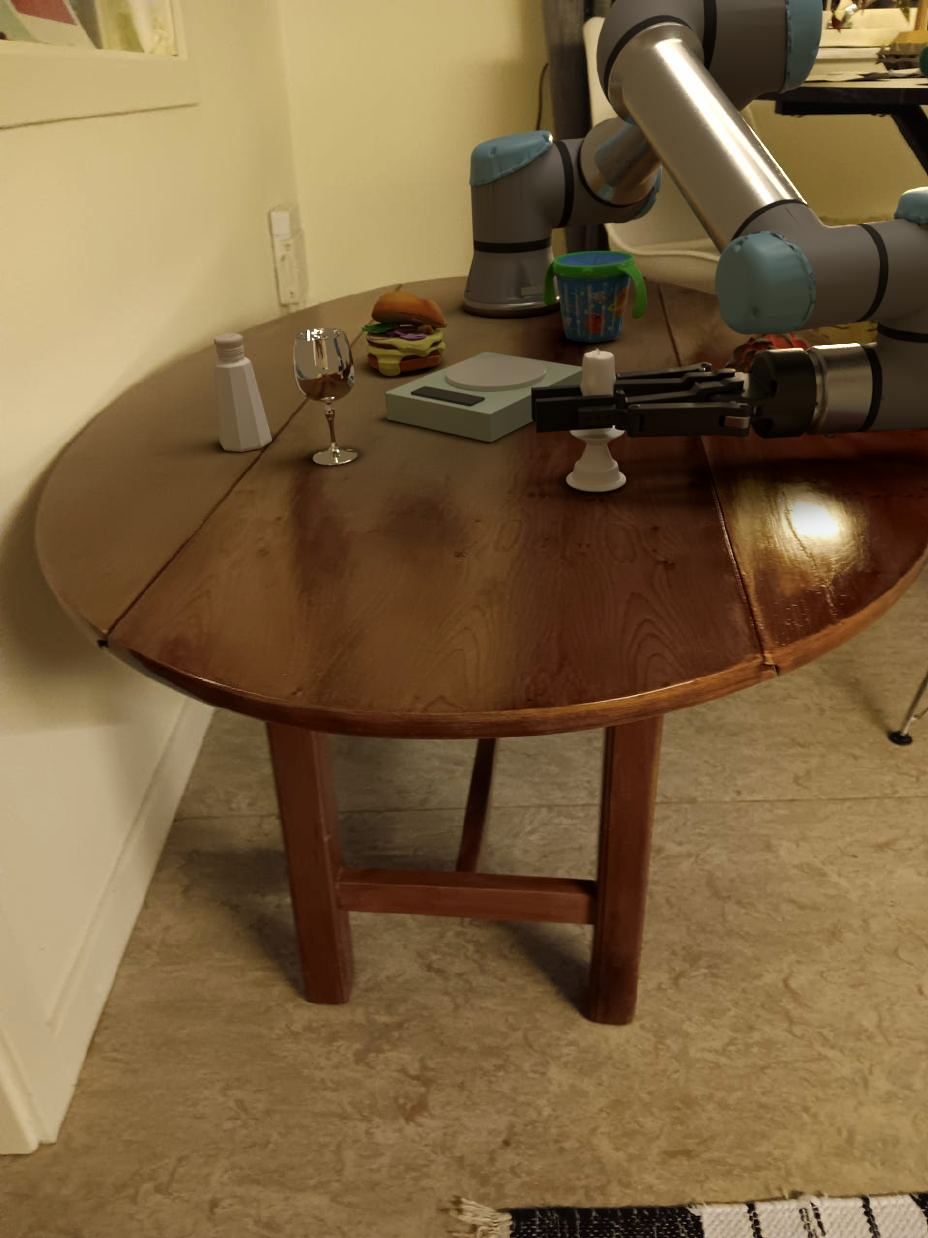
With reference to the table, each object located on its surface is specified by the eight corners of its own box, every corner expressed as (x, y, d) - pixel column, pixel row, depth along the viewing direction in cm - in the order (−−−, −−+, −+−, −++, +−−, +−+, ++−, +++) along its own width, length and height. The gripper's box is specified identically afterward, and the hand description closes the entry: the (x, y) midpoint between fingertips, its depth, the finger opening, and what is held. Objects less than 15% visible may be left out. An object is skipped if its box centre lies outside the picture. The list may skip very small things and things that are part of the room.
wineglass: (317, 472, 91) (300, 345, 85) (298, 454, 96) (280, 332, 89) (373, 459, 93) (360, 335, 87) (351, 442, 98) (337, 323, 92)
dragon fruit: (758, 437, 98) (753, 415, 108) (836, 389, 94) (823, 371, 105) (713, 367, 96) (713, 352, 107) (791, 315, 93) (782, 305, 103)
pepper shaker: (283, 440, 99) (266, 333, 93) (239, 456, 96) (220, 346, 90) (251, 430, 102) (234, 326, 97) (209, 445, 99) (188, 337, 93)
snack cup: (523, 335, 131) (522, 257, 125) (578, 320, 136) (579, 244, 131) (607, 356, 120) (610, 271, 115) (663, 339, 125) (667, 257, 120)
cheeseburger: (348, 374, 118) (347, 289, 115) (387, 371, 127) (387, 292, 124) (423, 378, 114) (424, 290, 111) (457, 375, 124) (459, 293, 121)
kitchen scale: (486, 375, 115) (485, 346, 113) (586, 393, 108) (586, 361, 106) (387, 419, 103) (384, 386, 101) (490, 442, 96) (489, 407, 94)
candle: (610, 497, 83) (615, 358, 77) (555, 486, 85) (555, 352, 79) (635, 475, 87) (641, 342, 80) (582, 466, 89) (584, 336, 83)
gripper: (832, 466, 78) (545, 485, 77) (769, 405, 91) (524, 421, 91) (846, 375, 74) (545, 395, 74) (778, 326, 88) (523, 342, 87)
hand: (534, 409), depth 82 cm, fingers closed on candle, 2 cm apart
